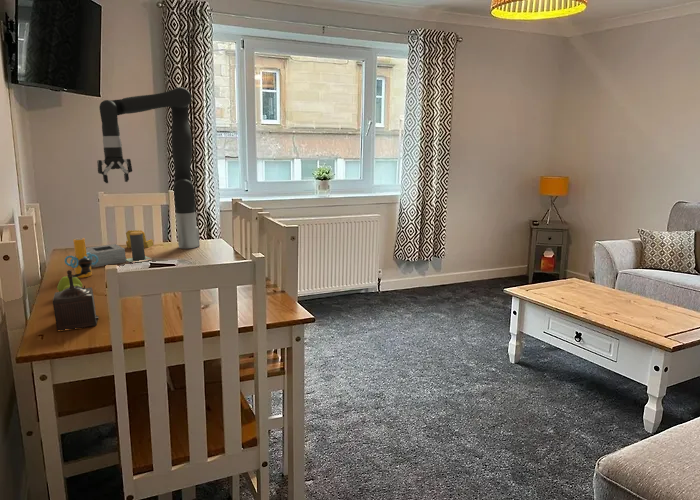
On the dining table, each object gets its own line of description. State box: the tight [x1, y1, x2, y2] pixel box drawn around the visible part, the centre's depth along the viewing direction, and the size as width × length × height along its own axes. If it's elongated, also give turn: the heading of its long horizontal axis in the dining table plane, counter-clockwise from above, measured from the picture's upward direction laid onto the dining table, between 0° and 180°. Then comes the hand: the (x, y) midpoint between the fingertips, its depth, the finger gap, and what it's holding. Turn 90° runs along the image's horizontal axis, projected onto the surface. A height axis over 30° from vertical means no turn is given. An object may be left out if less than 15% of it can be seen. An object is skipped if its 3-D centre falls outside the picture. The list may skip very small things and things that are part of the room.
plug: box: [130, 232, 146, 261], centre depth 231 cm, size 5×5×12 cm
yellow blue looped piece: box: [64, 237, 98, 279], centre depth 206 cm, size 12×10×15 cm
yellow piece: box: [125, 230, 154, 249], centre depth 259 cm, size 10×10×9 cm
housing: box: [86, 243, 127, 269], centre depth 229 cm, size 14×14×6 cm
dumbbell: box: [56, 275, 84, 292], centre depth 177 cm, size 16×8×7 cm, turn 32°
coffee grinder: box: [52, 258, 100, 331], centre depth 156 cm, size 16×11×18 cm
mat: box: [126, 255, 152, 263], centre depth 232 cm, size 9×9×1 cm
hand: (116, 182), depth 239 cm, fingers open, 8 cm apart
